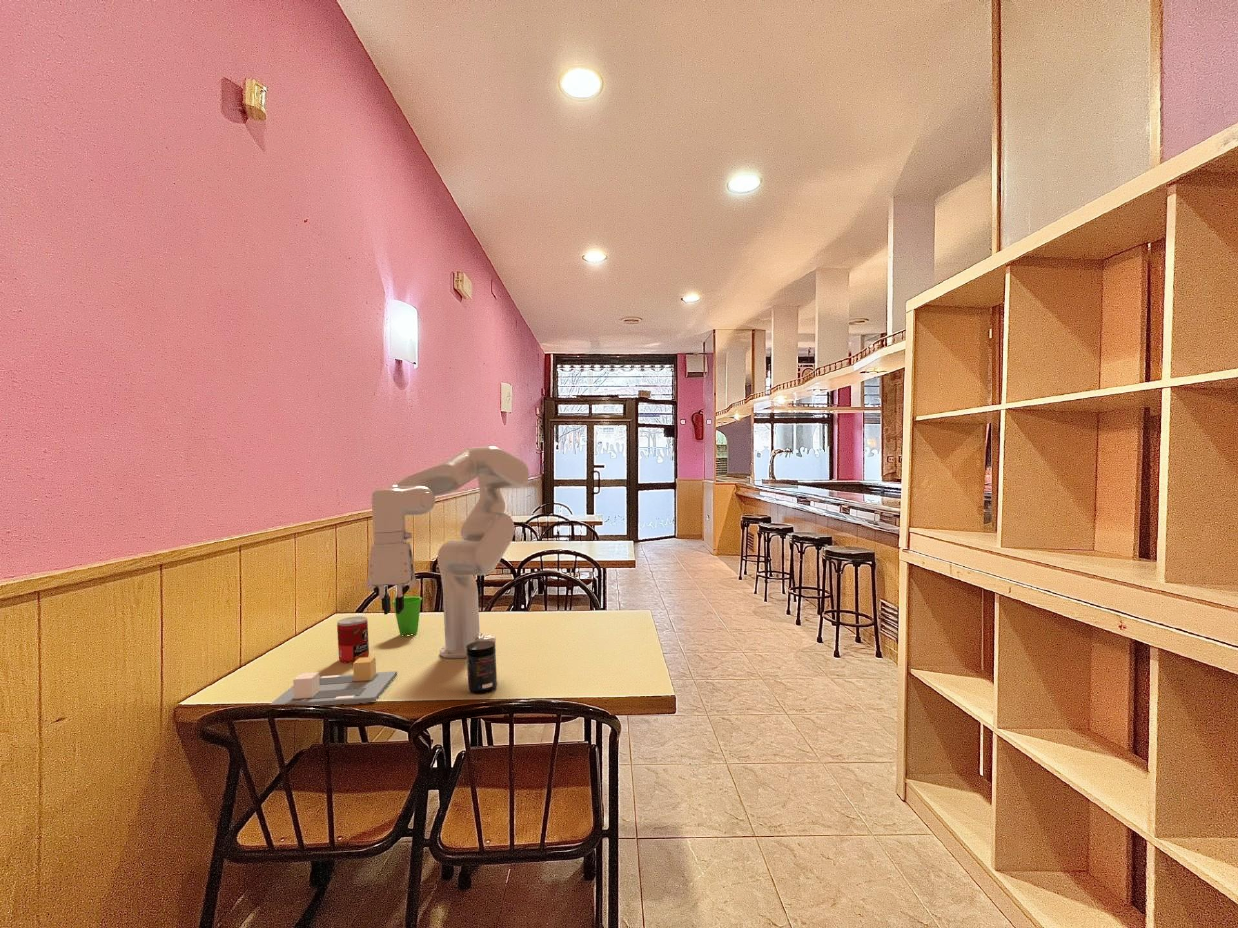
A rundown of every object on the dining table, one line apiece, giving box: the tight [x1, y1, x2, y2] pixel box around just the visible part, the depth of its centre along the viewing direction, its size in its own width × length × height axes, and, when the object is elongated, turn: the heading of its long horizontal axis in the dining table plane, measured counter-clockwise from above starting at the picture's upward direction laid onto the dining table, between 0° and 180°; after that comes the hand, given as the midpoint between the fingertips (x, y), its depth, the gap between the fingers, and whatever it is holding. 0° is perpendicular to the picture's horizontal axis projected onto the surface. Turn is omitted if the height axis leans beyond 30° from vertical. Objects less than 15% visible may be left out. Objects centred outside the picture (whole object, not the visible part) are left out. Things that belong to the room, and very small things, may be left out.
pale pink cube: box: [292, 671, 320, 699], centre depth 139 cm, size 4×4×4 cm
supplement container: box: [466, 641, 498, 695], centre depth 141 cm, size 7×7×10 cm
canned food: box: [336, 615, 370, 664], centre depth 168 cm, size 8×8×11 cm
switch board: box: [269, 670, 398, 706], centre depth 144 cm, size 23×17×1 cm
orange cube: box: [352, 656, 377, 681], centre depth 148 cm, size 4×4×4 cm
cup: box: [391, 596, 423, 637], centre depth 191 cm, size 9×9×11 cm
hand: (393, 612), depth 149 cm, fingers closed
